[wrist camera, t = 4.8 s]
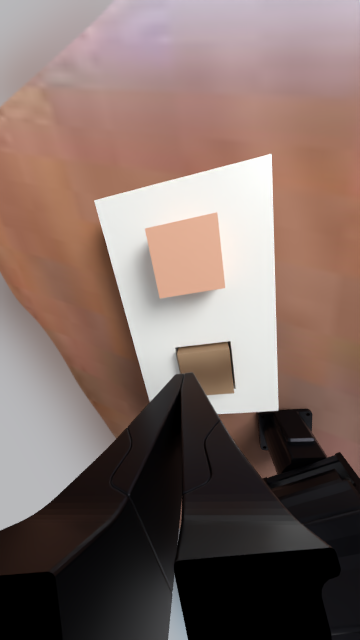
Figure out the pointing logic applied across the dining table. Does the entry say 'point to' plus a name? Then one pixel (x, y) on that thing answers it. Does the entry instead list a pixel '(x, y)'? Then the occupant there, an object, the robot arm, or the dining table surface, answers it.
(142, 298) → the key panel
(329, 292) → the dining table surface
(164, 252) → the terracotta key
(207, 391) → the walnut key
